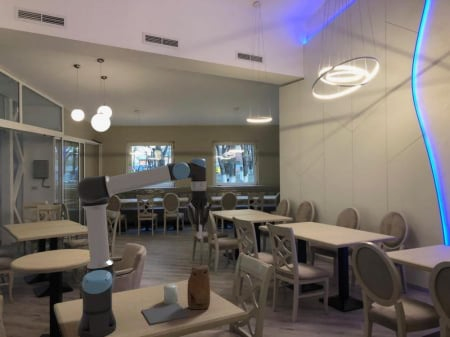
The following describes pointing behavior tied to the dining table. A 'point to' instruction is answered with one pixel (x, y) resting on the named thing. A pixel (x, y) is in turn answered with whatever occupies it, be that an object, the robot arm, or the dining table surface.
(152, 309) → the mat
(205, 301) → the block
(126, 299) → the dining table surface
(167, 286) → the grey cylinder
